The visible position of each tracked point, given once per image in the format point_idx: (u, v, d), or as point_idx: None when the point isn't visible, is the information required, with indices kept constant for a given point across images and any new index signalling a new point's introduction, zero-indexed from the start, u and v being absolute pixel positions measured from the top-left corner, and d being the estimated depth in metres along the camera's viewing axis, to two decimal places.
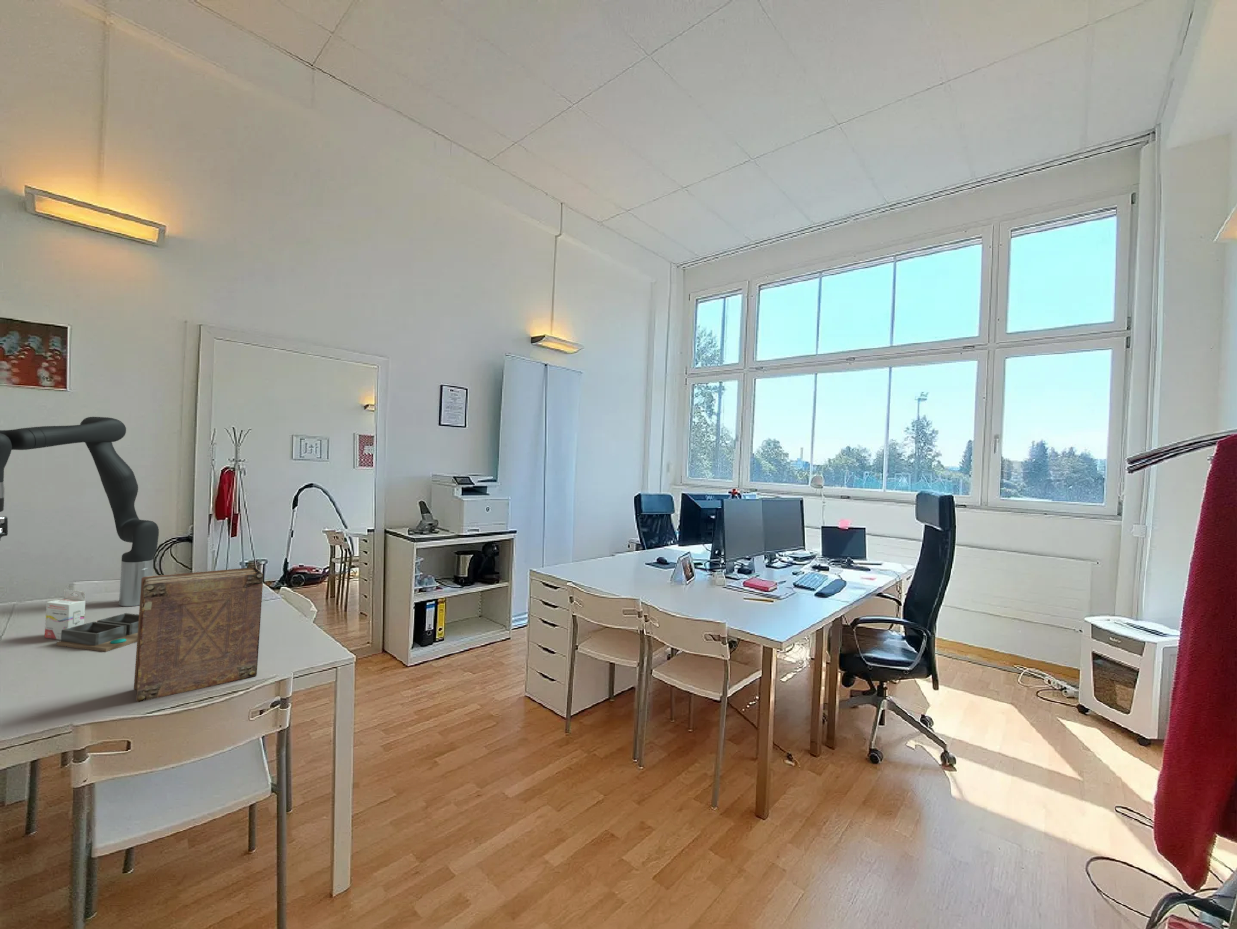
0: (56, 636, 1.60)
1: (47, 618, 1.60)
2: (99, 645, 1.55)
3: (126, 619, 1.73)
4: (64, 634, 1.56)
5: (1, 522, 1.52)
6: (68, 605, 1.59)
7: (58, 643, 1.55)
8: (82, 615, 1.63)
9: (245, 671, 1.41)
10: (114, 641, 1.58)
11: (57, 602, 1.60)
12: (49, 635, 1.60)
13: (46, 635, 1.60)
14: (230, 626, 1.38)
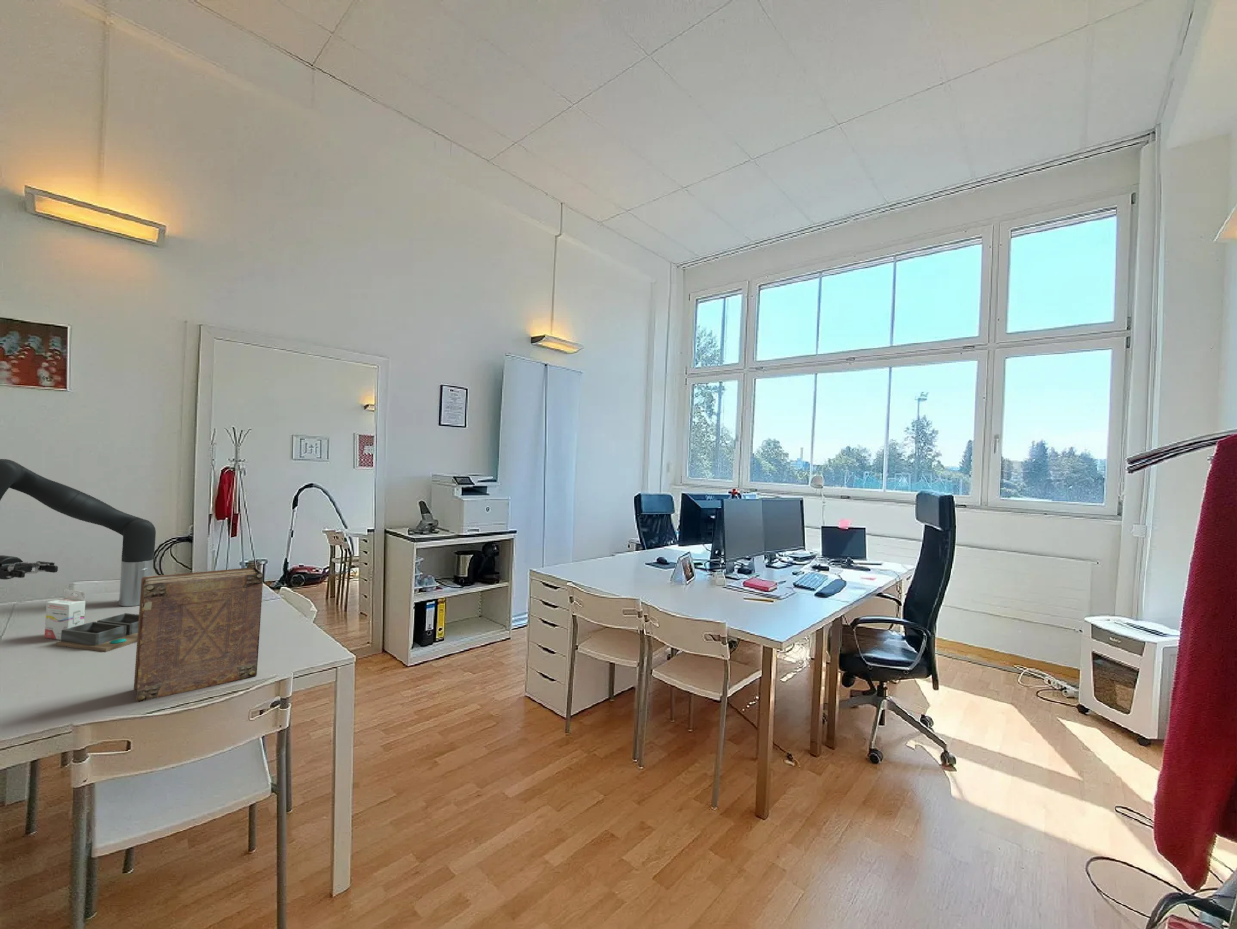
0: (56, 636, 1.60)
1: (47, 618, 1.60)
2: (99, 645, 1.55)
3: (126, 619, 1.73)
4: (64, 634, 1.56)
5: None
6: (68, 605, 1.59)
7: (58, 643, 1.55)
8: (82, 615, 1.63)
9: (245, 671, 1.41)
10: (114, 641, 1.58)
11: (57, 602, 1.60)
12: (49, 635, 1.60)
13: (46, 635, 1.60)
14: (230, 626, 1.38)
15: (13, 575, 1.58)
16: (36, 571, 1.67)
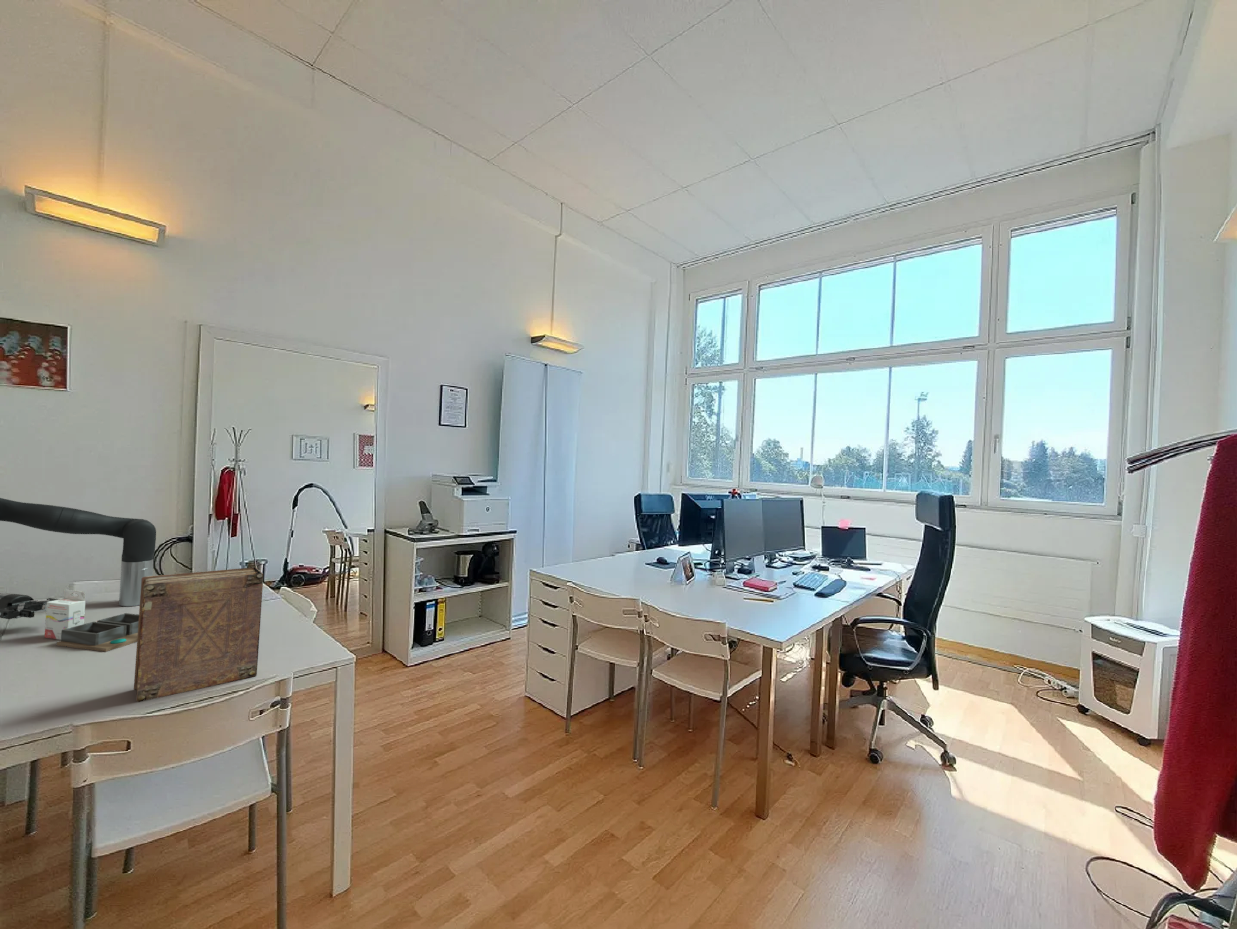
0: (56, 636, 1.60)
1: (47, 618, 1.60)
2: (99, 645, 1.55)
3: (126, 619, 1.73)
4: (64, 634, 1.56)
5: None
6: (68, 605, 1.59)
7: (58, 643, 1.55)
8: (82, 615, 1.63)
9: (245, 671, 1.41)
10: (114, 641, 1.58)
11: (57, 602, 1.60)
12: (49, 635, 1.60)
13: (46, 635, 1.60)
14: (230, 625, 1.38)
15: (23, 615, 1.58)
16: None
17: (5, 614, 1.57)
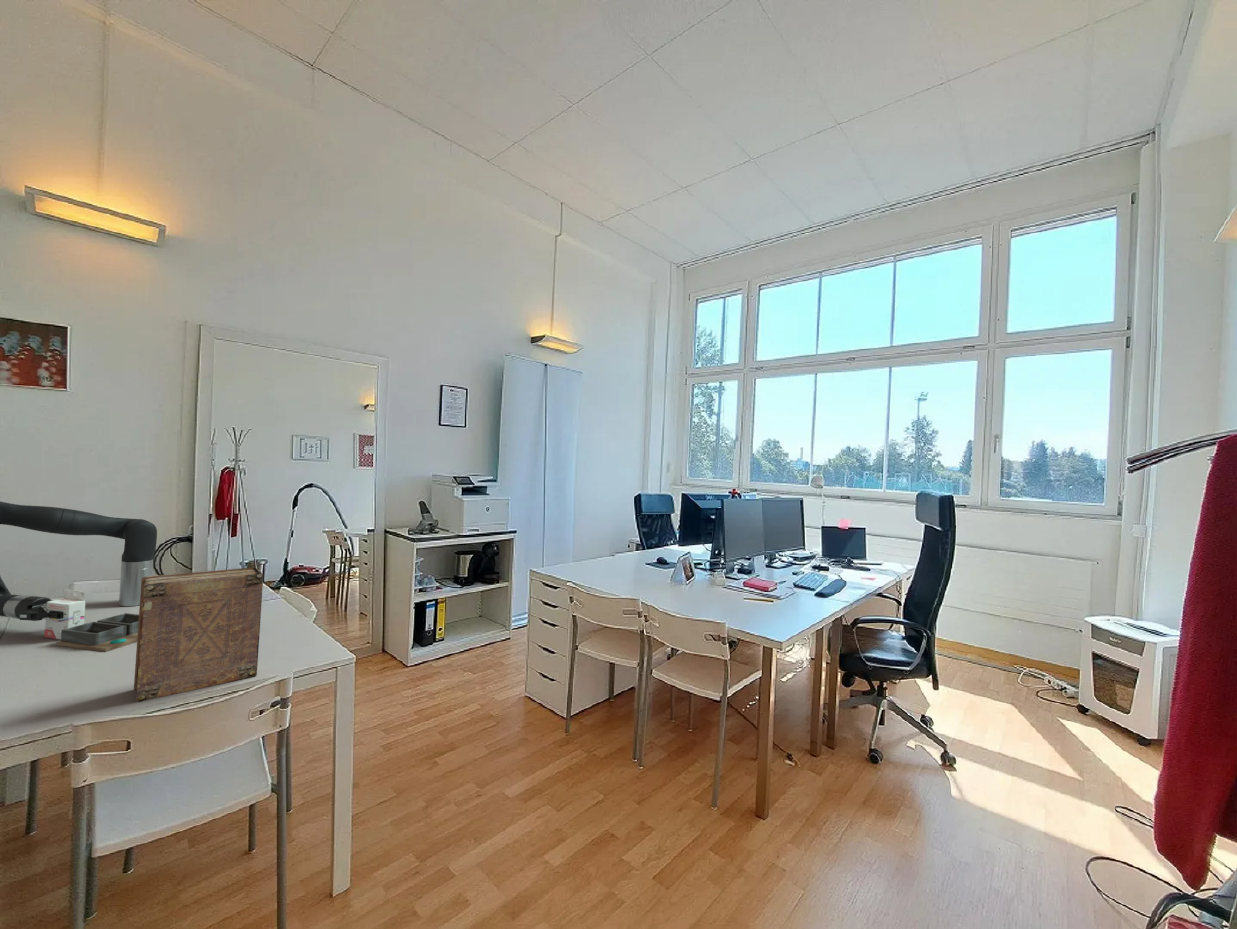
0: (56, 636, 1.60)
1: None
2: (99, 645, 1.55)
3: (126, 619, 1.73)
4: (64, 634, 1.56)
5: (24, 616, 1.56)
6: (68, 605, 1.59)
7: (58, 643, 1.55)
8: (82, 615, 1.63)
9: (245, 671, 1.41)
10: (114, 641, 1.58)
11: (57, 602, 1.60)
12: (49, 635, 1.60)
13: (46, 635, 1.60)
14: (230, 626, 1.38)
15: (52, 616, 1.58)
16: None
17: (32, 616, 1.57)
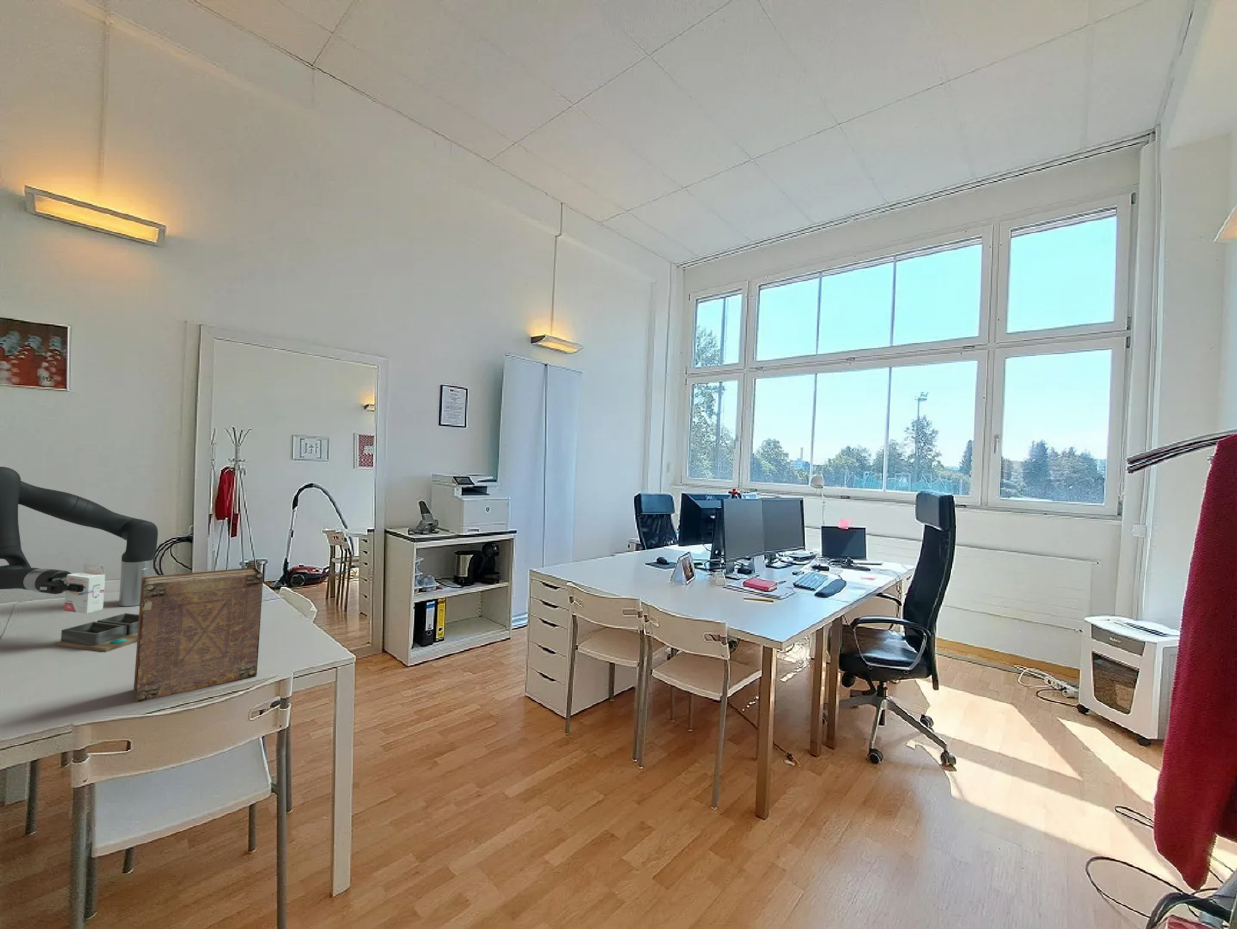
0: (75, 609, 1.58)
1: None
2: (99, 645, 1.55)
3: (126, 619, 1.73)
4: (64, 634, 1.56)
5: (44, 589, 1.54)
6: (88, 578, 1.57)
7: (58, 643, 1.55)
8: (102, 589, 1.61)
9: (245, 671, 1.41)
10: (114, 641, 1.58)
11: (77, 575, 1.58)
12: (69, 608, 1.58)
13: (66, 608, 1.58)
14: (230, 625, 1.38)
15: (72, 589, 1.56)
16: None
17: (52, 588, 1.55)
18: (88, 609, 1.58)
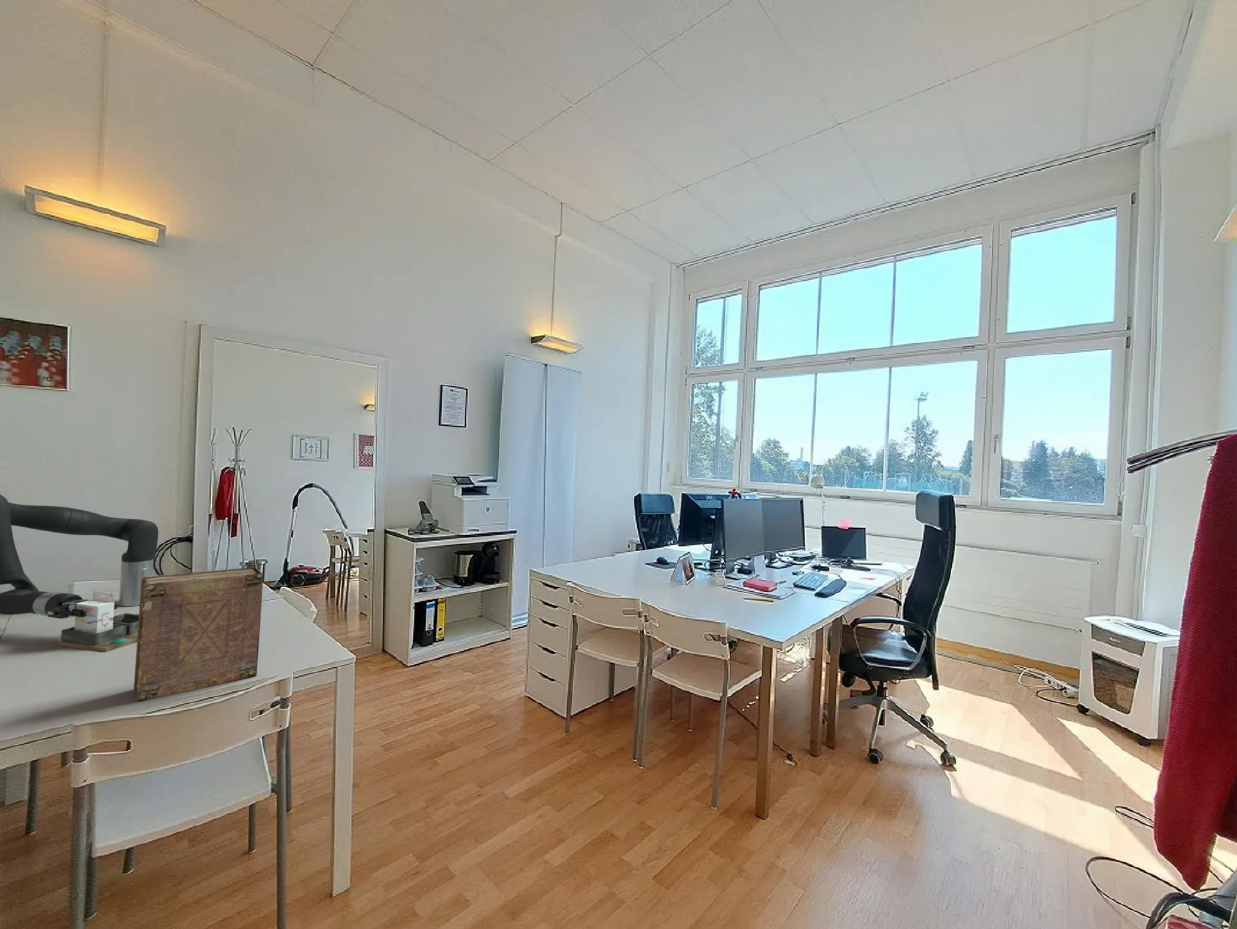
0: None
1: (77, 620, 1.57)
2: (99, 645, 1.55)
3: (126, 619, 1.73)
4: (64, 634, 1.56)
5: (51, 613, 1.54)
6: (97, 607, 1.56)
7: (58, 643, 1.55)
8: (111, 617, 1.60)
9: (245, 671, 1.41)
10: (114, 641, 1.58)
11: (86, 603, 1.58)
12: None
13: None
14: (230, 626, 1.38)
15: (75, 615, 1.54)
16: None
17: (57, 614, 1.54)
18: None
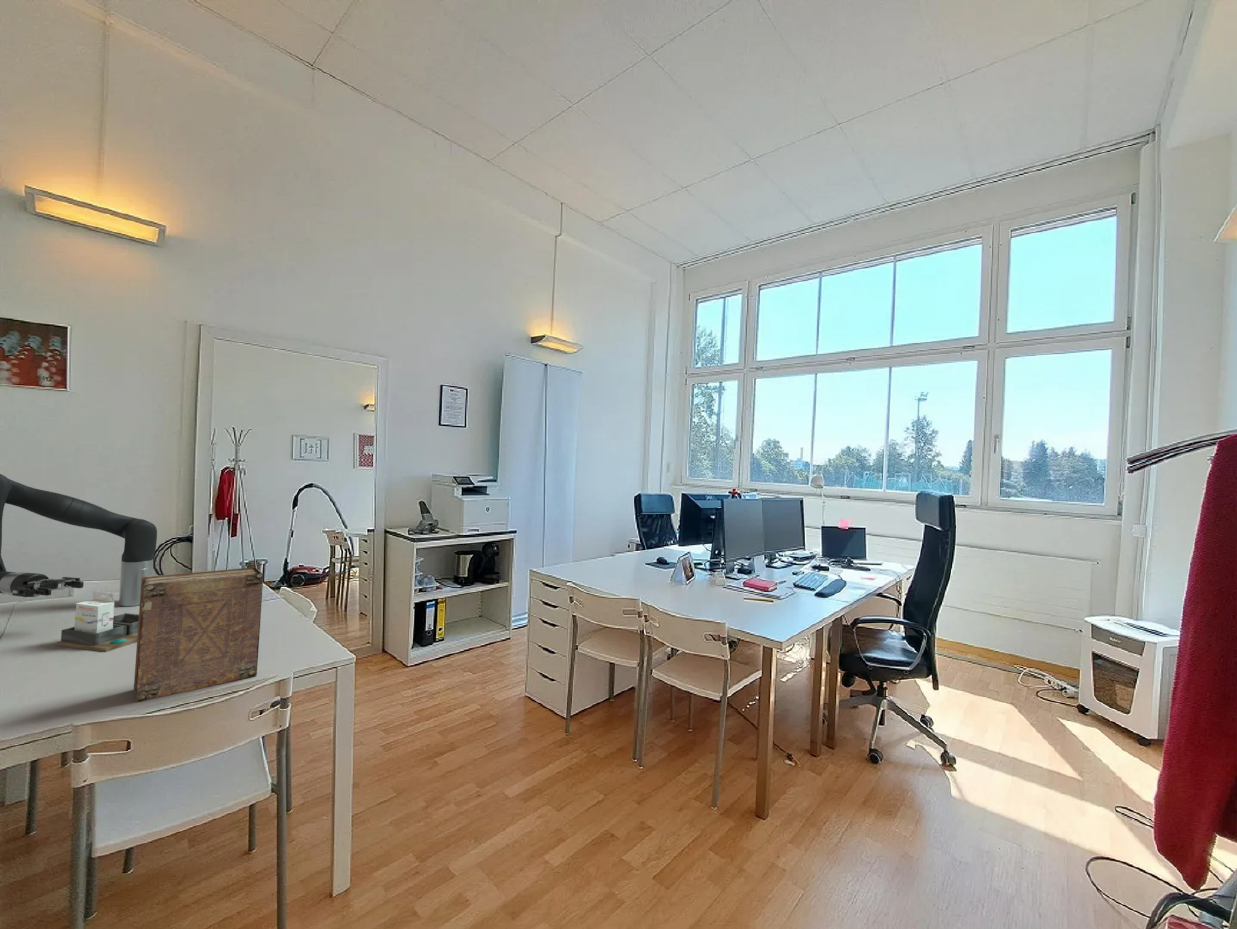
0: None
1: (77, 620, 1.57)
2: (99, 645, 1.55)
3: (126, 619, 1.73)
4: (64, 634, 1.56)
5: (15, 592, 1.56)
6: (97, 607, 1.56)
7: (58, 643, 1.55)
8: (111, 617, 1.60)
9: (245, 671, 1.41)
10: (114, 641, 1.58)
11: (86, 603, 1.58)
12: None
13: None
14: (230, 626, 1.38)
15: (39, 593, 1.56)
16: (62, 587, 1.65)
17: (22, 592, 1.56)
18: None
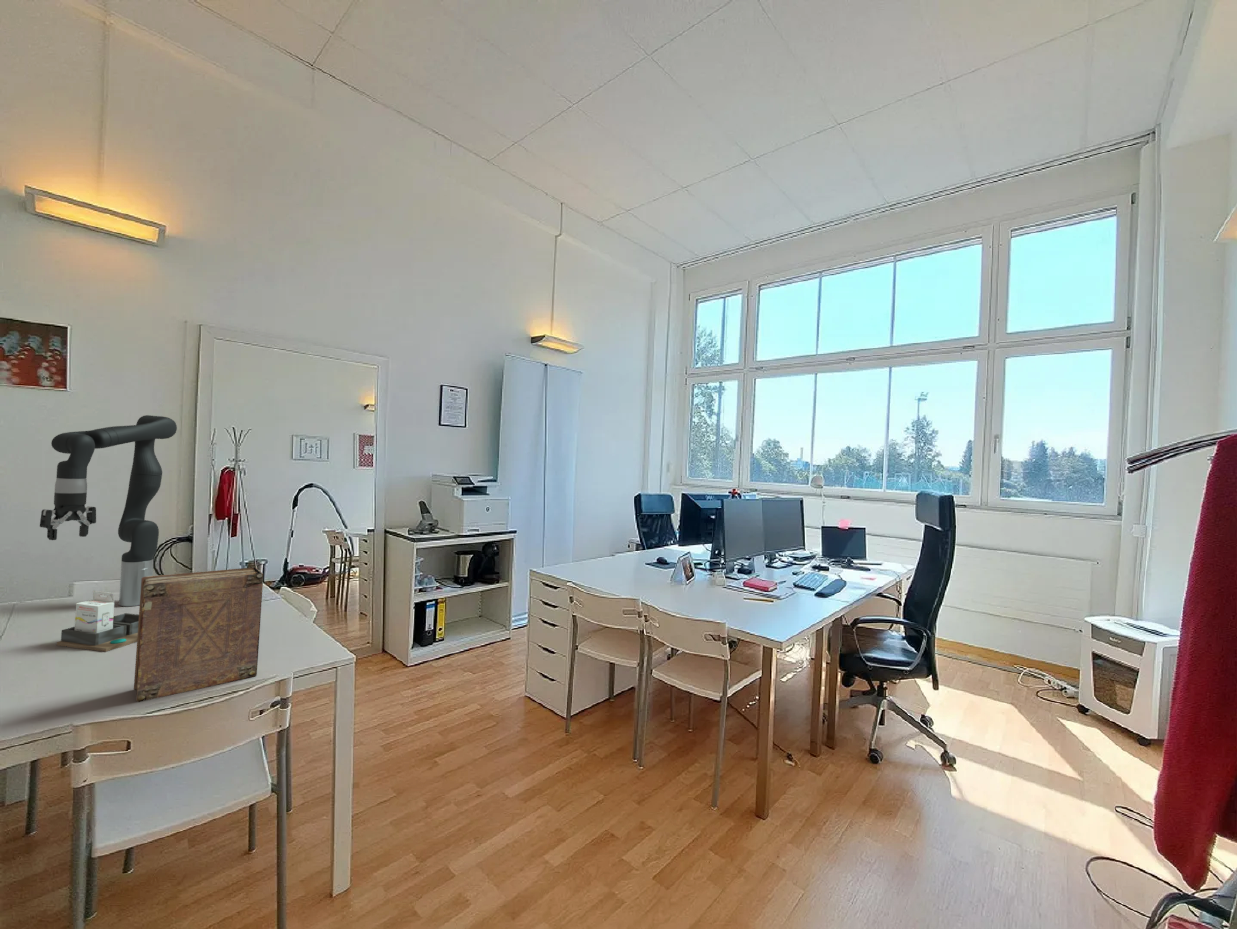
0: None
1: (77, 620, 1.57)
2: (99, 645, 1.55)
3: (126, 619, 1.73)
4: (64, 634, 1.56)
5: (44, 514, 1.64)
6: (97, 607, 1.56)
7: (58, 643, 1.55)
8: (111, 617, 1.60)
9: (245, 671, 1.41)
10: (114, 641, 1.58)
11: (86, 603, 1.58)
12: None
13: None
14: (230, 626, 1.38)
15: (48, 533, 1.66)
16: (76, 520, 1.74)
17: (45, 520, 1.65)
18: None
